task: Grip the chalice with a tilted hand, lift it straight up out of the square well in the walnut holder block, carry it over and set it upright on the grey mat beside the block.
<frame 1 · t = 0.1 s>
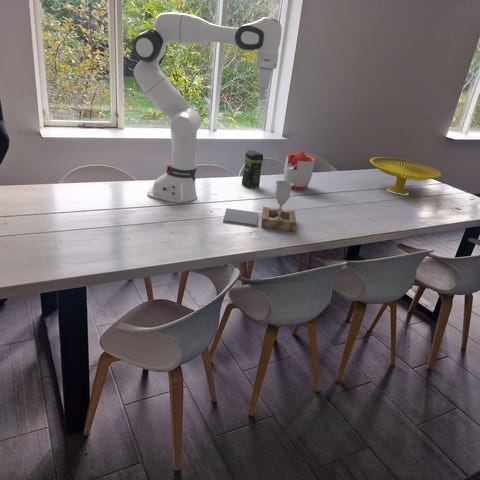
hand: (261, 98, 179), 48 cm above the table, tool pointing down, fingers open, 8 cm apart
chalice: (277, 223, 184), resting in walnut holder
cake stand: (397, 191, 251), on the table
grey mat: (240, 218, 184), on the table
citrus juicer: (294, 187, 234), on the table
coffee jar: (250, 186, 227), on the table
walnut holder: (277, 223, 184), on the table
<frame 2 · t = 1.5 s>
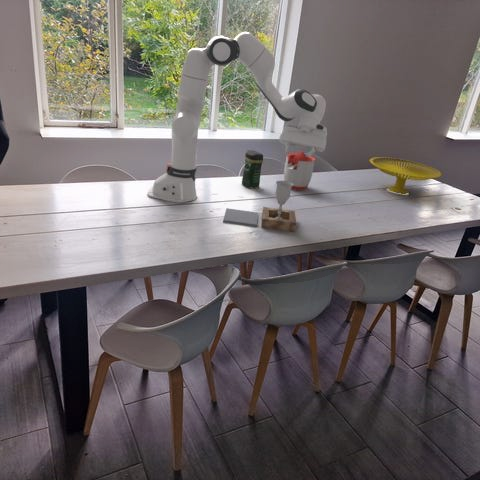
hand: (297, 154, 183), 28 cm above the table, tool tilted 45°, fingers open, 8 cm apart
nothing on the table moved.
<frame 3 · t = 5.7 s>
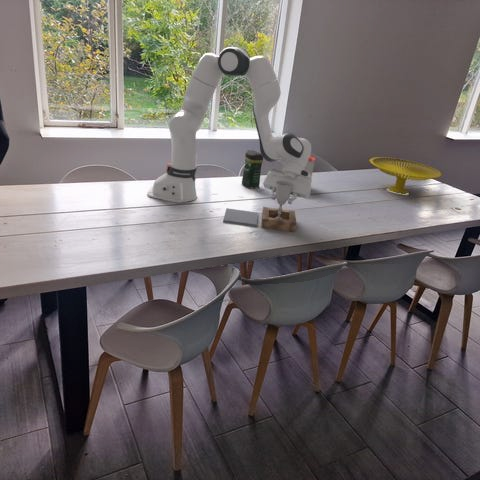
hand: (281, 201, 179), 10 cm above the table, tool tilted 45°, fingers closed on chalice, 6 cm apart
chalice: (277, 223, 184), resting in walnut holder, touching gripper
everything else where it was.
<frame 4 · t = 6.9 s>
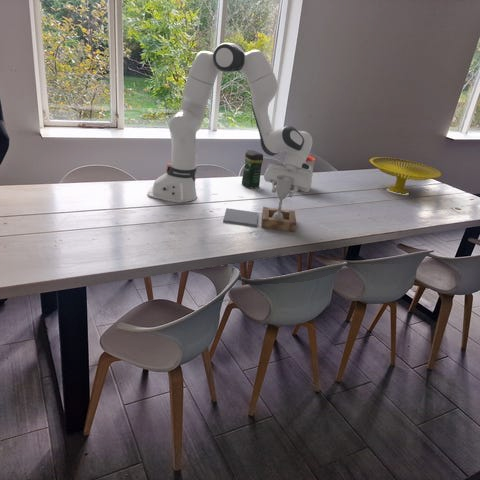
hand: (281, 194, 178), 13 cm above the table, tool tilted 45°, fingers closed on chalice, 6 cm apart
chalice: (277, 218, 183), point 2 cm above the table, touching gripper
everything else where it was.
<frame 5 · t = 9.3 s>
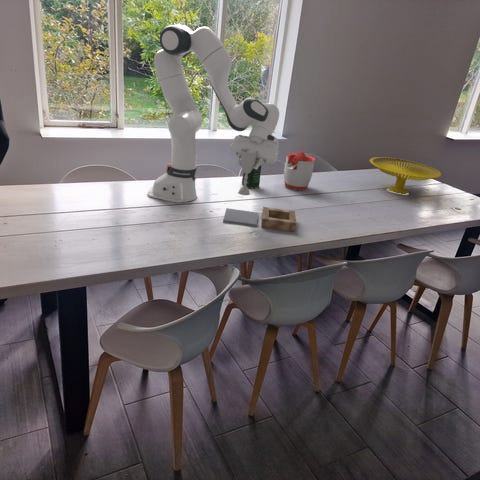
hand: (246, 166, 174), 23 cm above the table, tool tilted 45°, fingers closed on chalice, 6 cm apart
chalice: (243, 193, 179), point 11 cm above the table, touching gripper
everything else where it was.
when the fingers open (13 cm above the table, at t = 12.0 s): chalice stays where it is, resting on grey mat.
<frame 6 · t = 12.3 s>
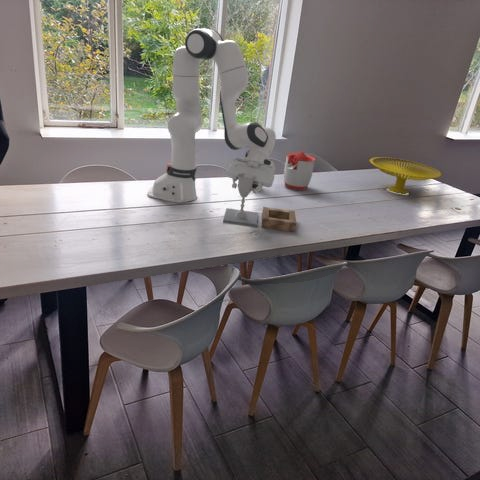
hand: (243, 190, 178), 13 cm above the table, tool tilted 45°, fingers open, 8 cm apart
chalice: (241, 216, 184), point 1 cm above the table, touching grey mat
everything else where it was.
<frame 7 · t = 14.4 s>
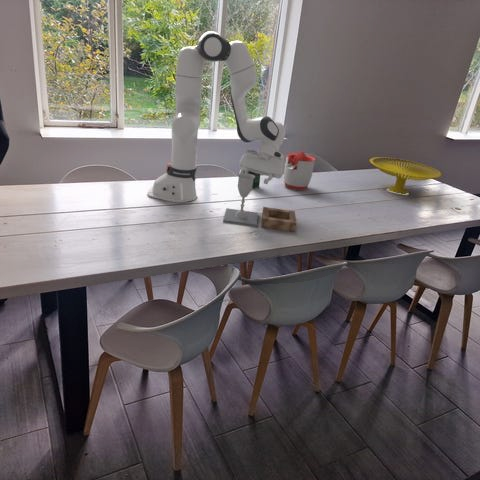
hand: (255, 180, 189), 14 cm above the table, tool tilted 45°, fingers open, 8 cm apart
nothing on the table moved.
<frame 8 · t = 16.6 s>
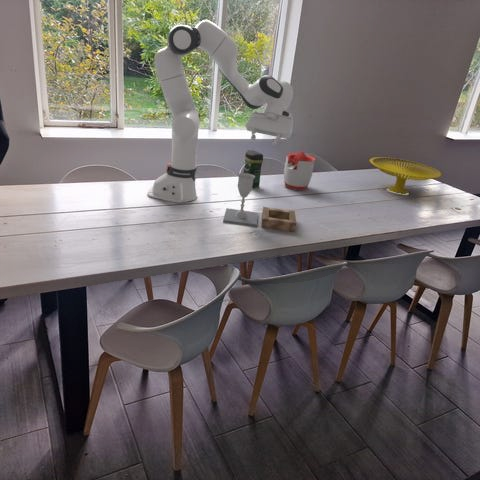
hand: (262, 141, 181), 31 cm above the table, tool tilted 45°, fingers open, 8 cm apart
nothing on the table moved.
at the end: chalice inside the target area (0.0 cm from its centre), point 0.8 cm above the table; chalice tilted 0°; the gripper is holding nothing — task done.
